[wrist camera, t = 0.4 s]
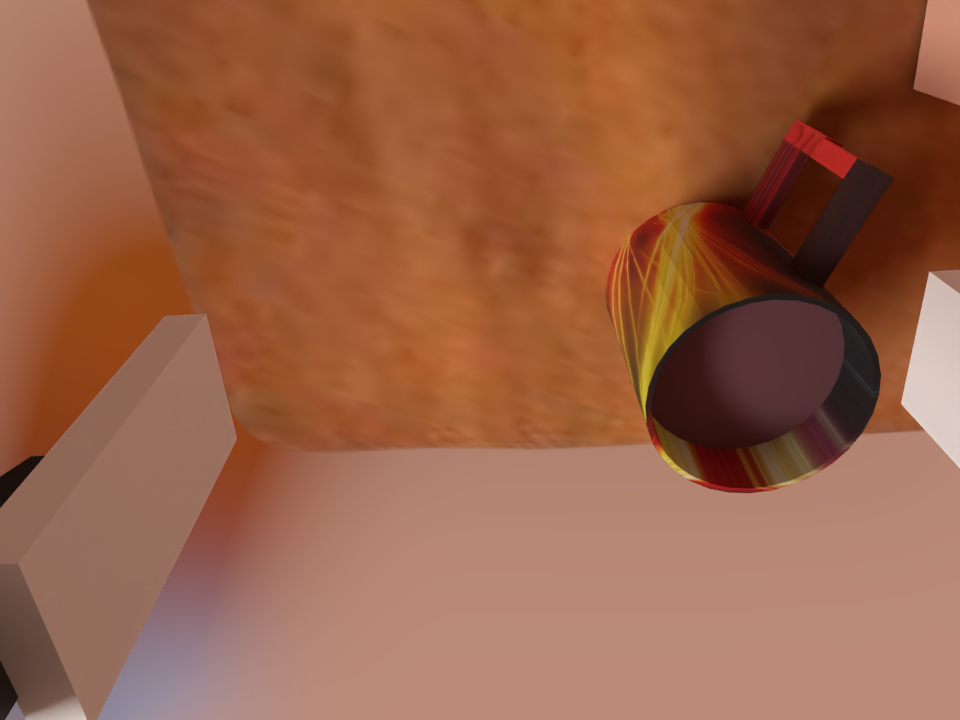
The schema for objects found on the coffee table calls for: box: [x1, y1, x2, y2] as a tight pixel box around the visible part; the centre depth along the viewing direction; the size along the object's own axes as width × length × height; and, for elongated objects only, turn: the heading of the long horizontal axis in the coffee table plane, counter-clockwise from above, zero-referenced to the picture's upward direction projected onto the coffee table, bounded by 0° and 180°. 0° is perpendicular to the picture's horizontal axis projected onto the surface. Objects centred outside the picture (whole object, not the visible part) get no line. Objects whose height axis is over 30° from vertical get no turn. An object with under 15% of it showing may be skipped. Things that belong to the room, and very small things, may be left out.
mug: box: [606, 119, 894, 493], centre depth 37 cm, size 10×14×12 cm
